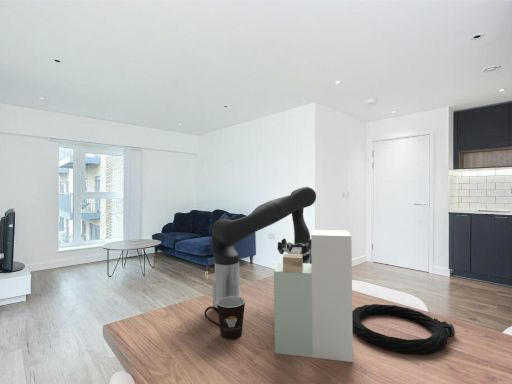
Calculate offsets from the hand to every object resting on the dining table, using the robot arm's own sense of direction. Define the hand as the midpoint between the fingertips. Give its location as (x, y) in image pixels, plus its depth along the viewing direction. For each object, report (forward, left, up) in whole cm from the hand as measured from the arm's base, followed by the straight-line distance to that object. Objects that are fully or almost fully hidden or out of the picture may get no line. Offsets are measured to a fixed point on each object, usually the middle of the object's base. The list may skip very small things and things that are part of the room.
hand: (297, 241), depth 91 cm
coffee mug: (-19, -14, -27) cm, 36 cm away
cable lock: (+30, +7, -28) cm, 42 cm away
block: (+1, -8, -5) cm, 9 cm away
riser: (+7, -12, -27) cm, 30 cm away
